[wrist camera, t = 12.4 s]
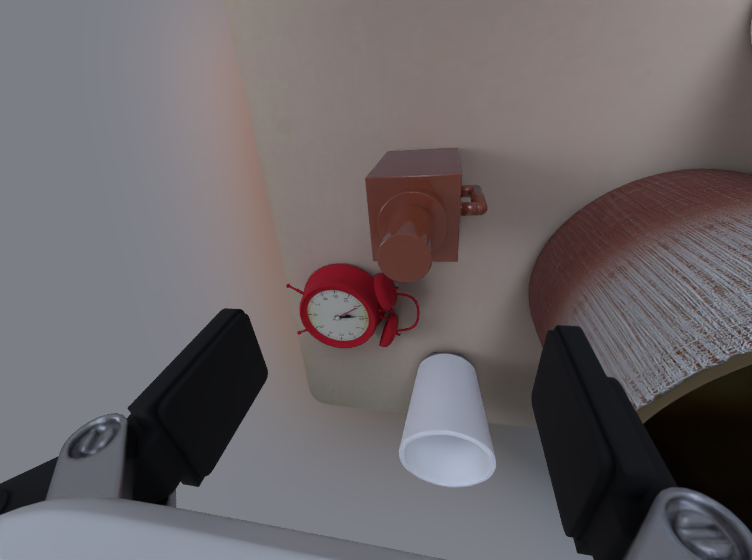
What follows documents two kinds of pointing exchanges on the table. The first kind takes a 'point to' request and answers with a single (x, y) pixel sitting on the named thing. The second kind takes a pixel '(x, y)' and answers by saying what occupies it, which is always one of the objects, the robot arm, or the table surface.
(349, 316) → the alarm clock
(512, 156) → the table surface
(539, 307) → the planter
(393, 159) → the brown handled box
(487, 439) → the cup
